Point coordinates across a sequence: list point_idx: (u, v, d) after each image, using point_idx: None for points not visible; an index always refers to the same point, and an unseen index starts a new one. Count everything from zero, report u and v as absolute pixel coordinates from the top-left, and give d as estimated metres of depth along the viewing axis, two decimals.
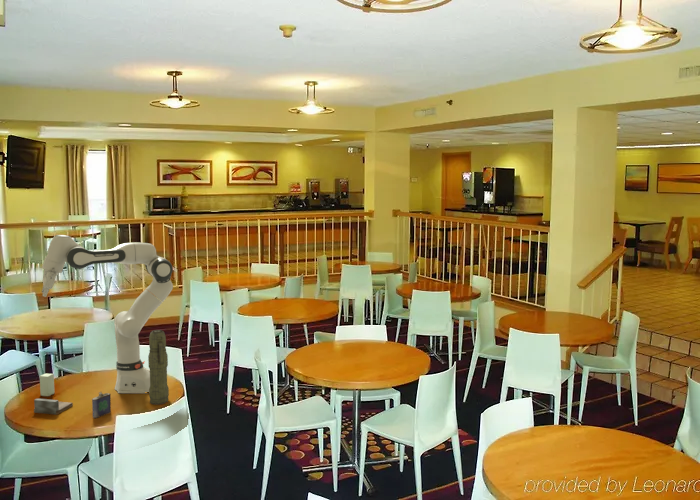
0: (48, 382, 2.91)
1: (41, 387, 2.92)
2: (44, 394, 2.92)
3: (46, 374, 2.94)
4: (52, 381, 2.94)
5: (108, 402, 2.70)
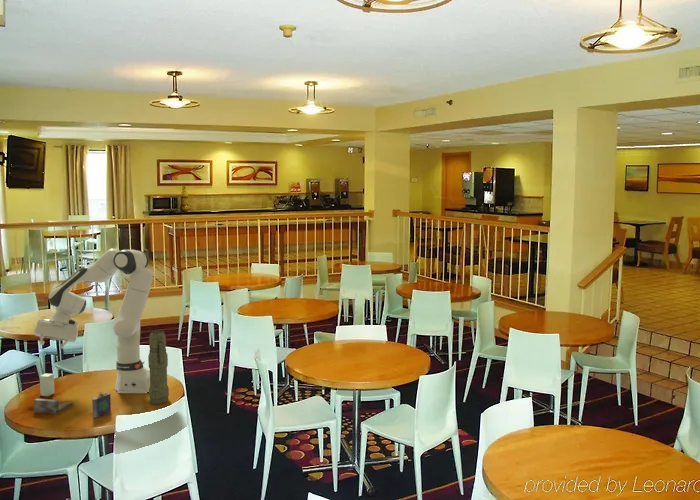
0: (48, 382, 2.91)
1: (41, 387, 2.92)
2: (44, 394, 2.92)
3: (46, 374, 2.94)
4: (52, 381, 2.94)
5: (108, 402, 2.70)
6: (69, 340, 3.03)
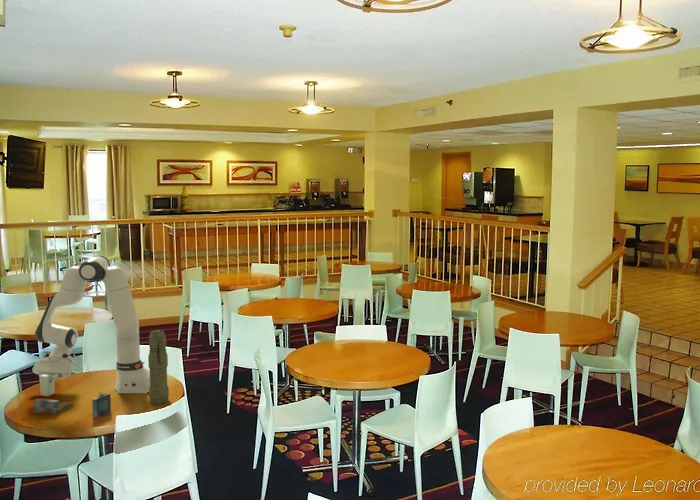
0: (48, 382, 2.91)
1: (41, 387, 2.92)
2: (44, 394, 2.92)
3: (46, 374, 2.94)
4: None
5: (108, 402, 2.70)
6: (63, 374, 2.94)
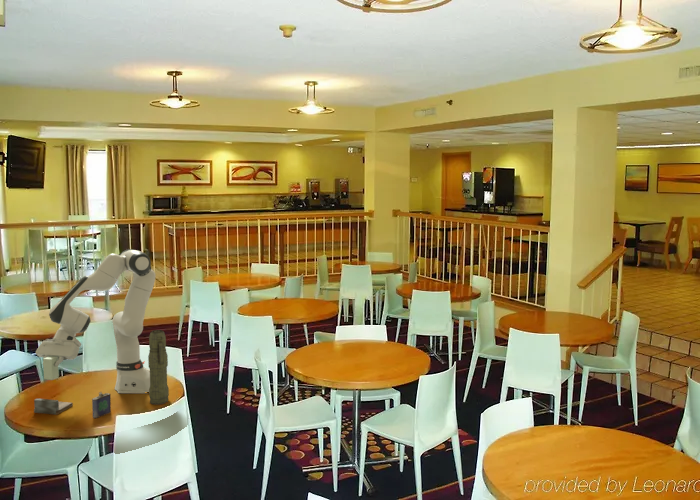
0: (52, 365, 2.76)
1: (44, 370, 2.77)
2: (48, 378, 2.77)
3: (50, 357, 2.79)
4: None
5: (108, 402, 2.70)
6: (67, 357, 2.79)
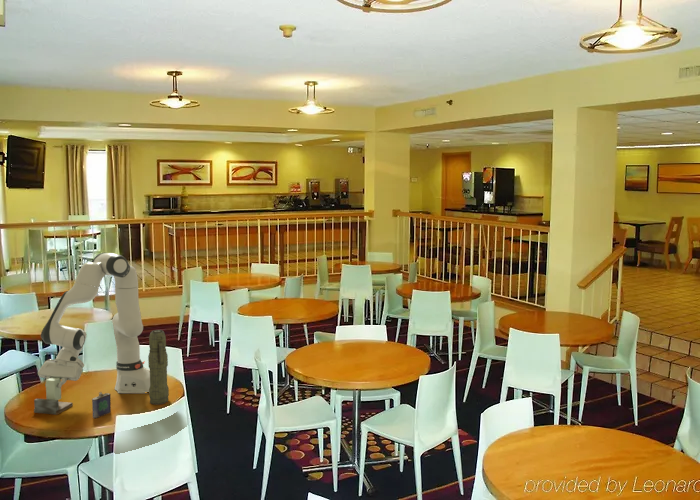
0: (55, 386, 2.72)
1: (47, 392, 2.73)
2: (50, 399, 2.73)
3: (52, 378, 2.75)
4: None
5: (108, 402, 2.70)
6: (70, 378, 2.75)
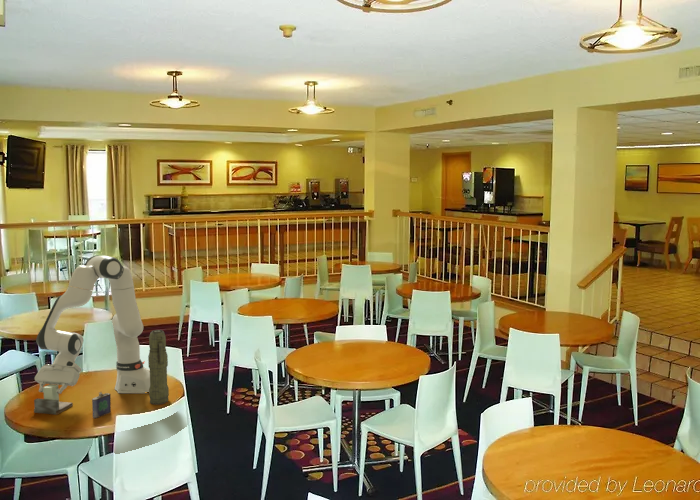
0: (52, 394, 2.71)
1: None
2: None
3: (50, 385, 2.73)
4: (57, 393, 2.74)
5: (108, 402, 2.70)
6: (67, 384, 2.73)
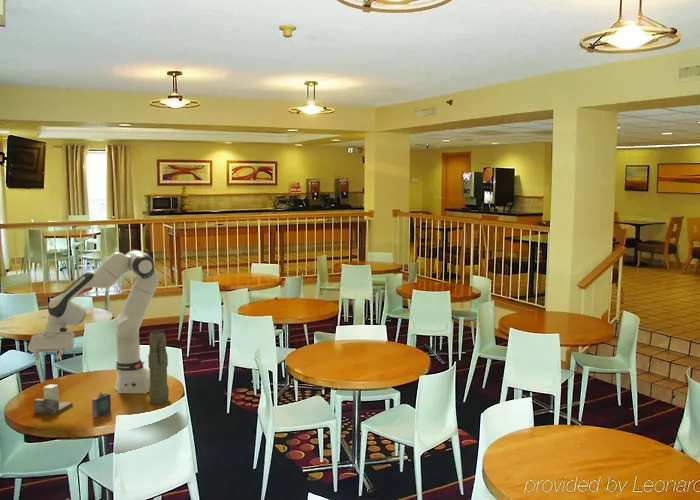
0: (52, 394, 2.71)
1: None
2: None
3: (50, 385, 2.73)
4: (57, 393, 2.74)
5: (108, 402, 2.70)
6: (64, 349, 2.78)
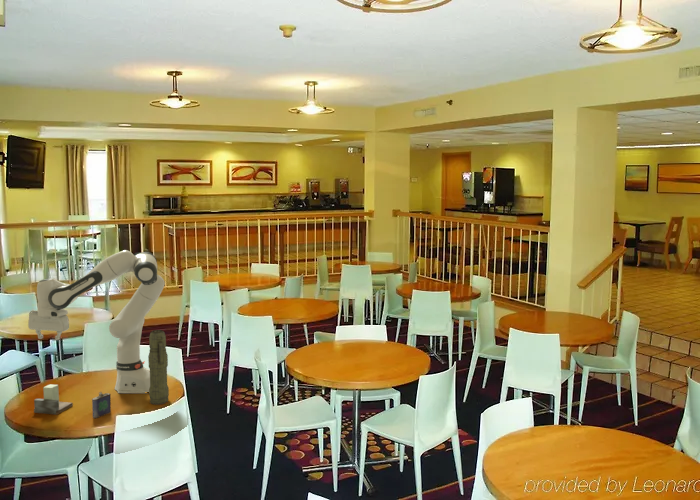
0: (52, 394, 2.71)
1: None
2: None
3: (50, 385, 2.73)
4: (57, 393, 2.74)
5: (108, 402, 2.70)
6: None
